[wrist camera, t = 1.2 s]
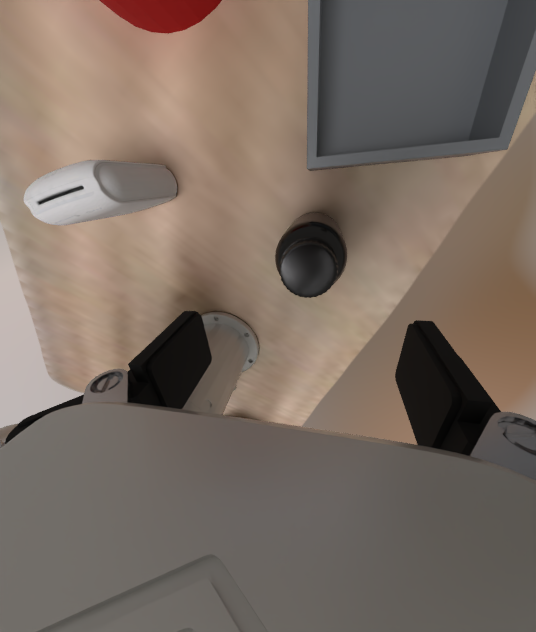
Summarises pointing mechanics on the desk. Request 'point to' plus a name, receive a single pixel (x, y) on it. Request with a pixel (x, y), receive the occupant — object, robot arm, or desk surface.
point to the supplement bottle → (311, 255)
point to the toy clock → (162, 13)
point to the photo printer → (98, 191)
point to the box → (415, 78)
